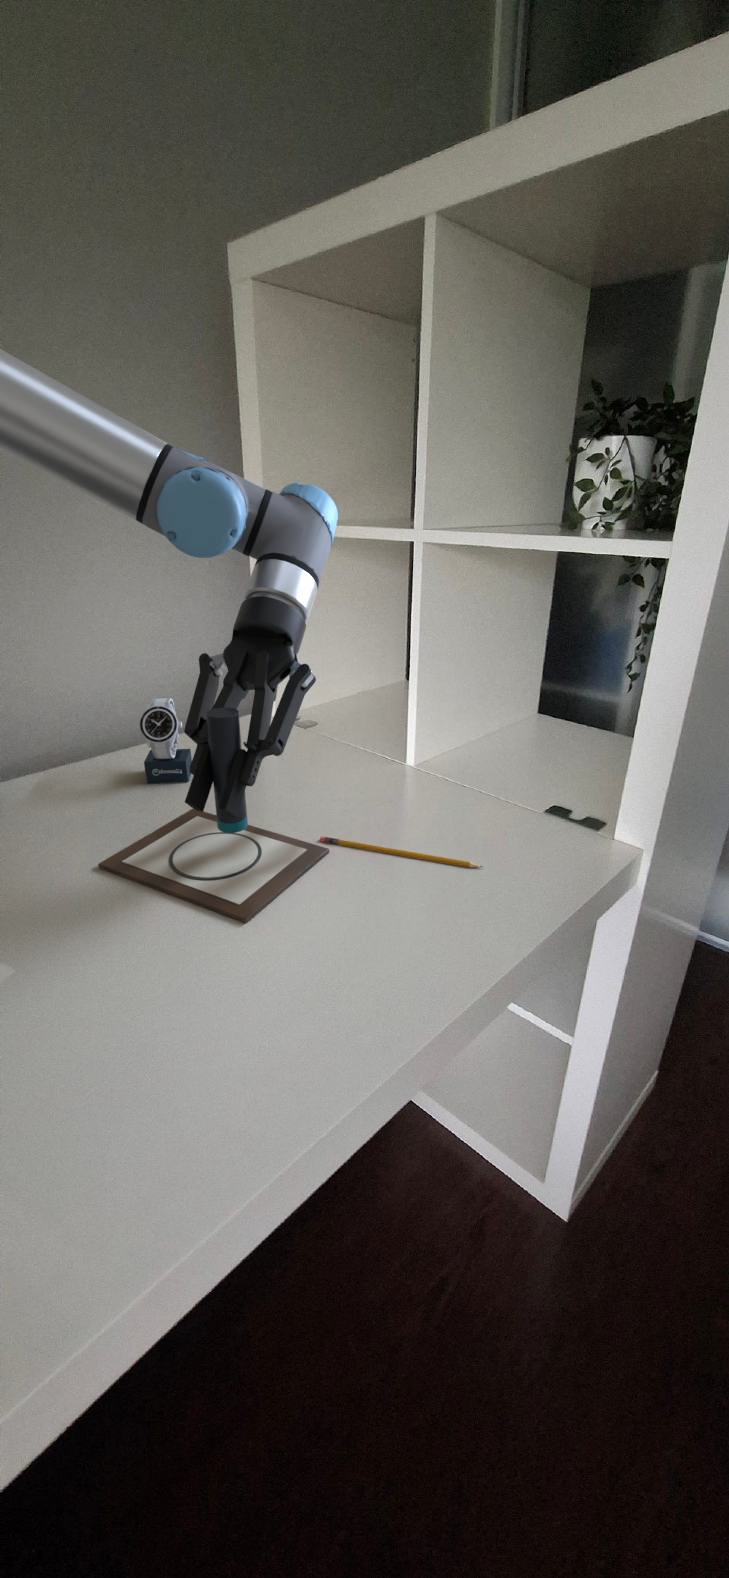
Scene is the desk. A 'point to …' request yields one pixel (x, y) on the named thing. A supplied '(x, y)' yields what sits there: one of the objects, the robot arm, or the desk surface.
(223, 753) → the marker
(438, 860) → the pencil
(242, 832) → the sketch board
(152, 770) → the watch
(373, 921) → the desk surface
